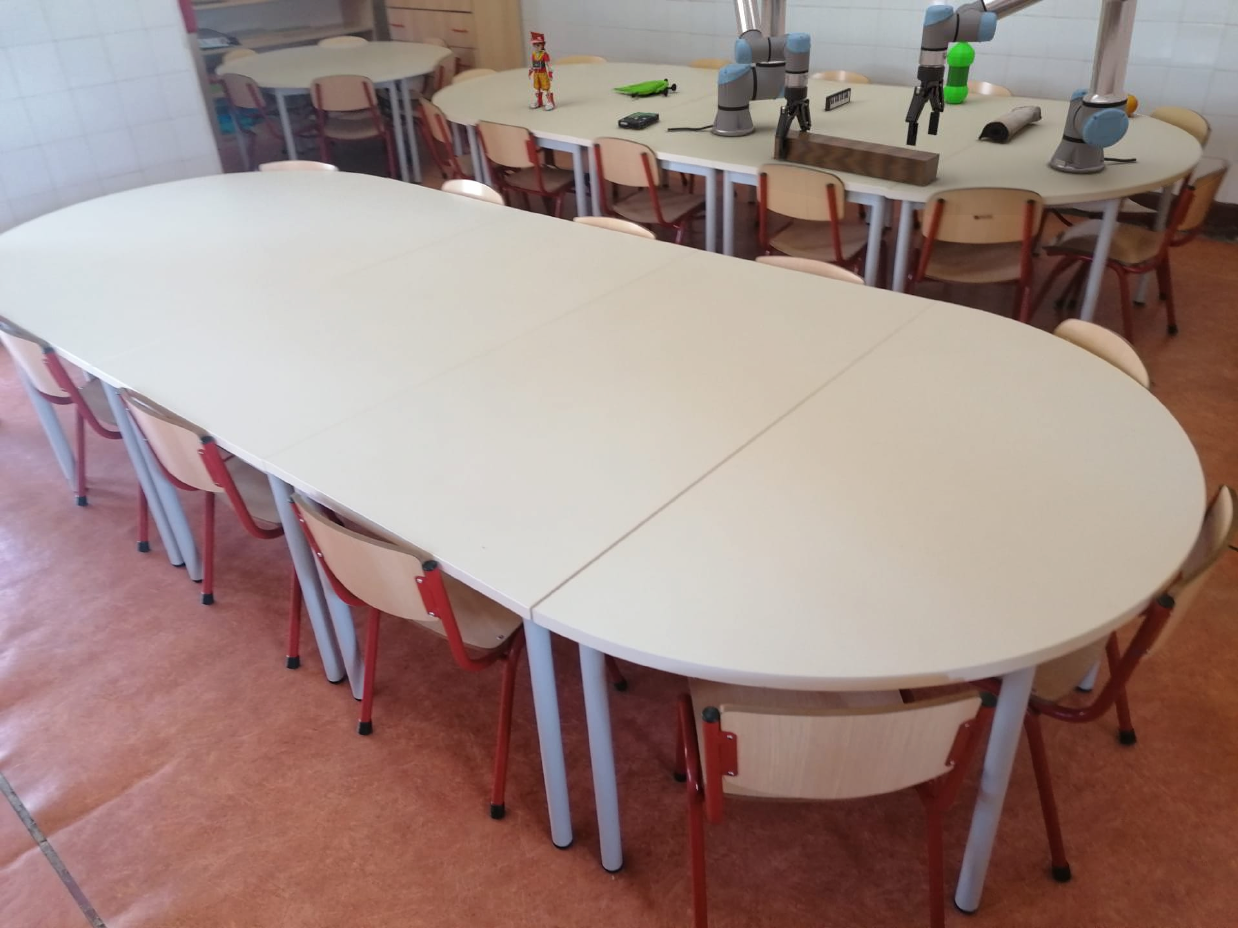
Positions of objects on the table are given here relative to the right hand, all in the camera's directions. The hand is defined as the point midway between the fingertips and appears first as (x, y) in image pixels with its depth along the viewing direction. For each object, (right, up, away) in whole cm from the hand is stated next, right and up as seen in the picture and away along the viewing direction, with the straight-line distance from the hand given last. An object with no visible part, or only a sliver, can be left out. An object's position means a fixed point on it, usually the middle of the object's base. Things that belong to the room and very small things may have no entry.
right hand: (921, 140), depth 273 cm
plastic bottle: (+41, +45, +82) cm, 102 cm away
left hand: (-33, +7, +33) cm, 47 cm away
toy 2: (-83, +66, +124) cm, 163 cm away
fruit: (+92, +29, +54) cm, 110 cm away
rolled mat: (+46, +19, +44) cm, 67 cm away
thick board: (-16, -2, +20) cm, 26 cm away
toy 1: (-125, +54, +110) cm, 175 cm away
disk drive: (-84, +35, +79) cm, 121 cm away
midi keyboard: (-4, +45, +87) cm, 98 cm away
